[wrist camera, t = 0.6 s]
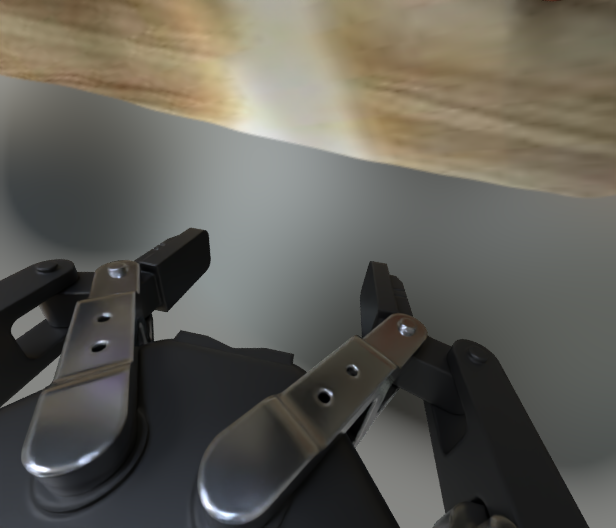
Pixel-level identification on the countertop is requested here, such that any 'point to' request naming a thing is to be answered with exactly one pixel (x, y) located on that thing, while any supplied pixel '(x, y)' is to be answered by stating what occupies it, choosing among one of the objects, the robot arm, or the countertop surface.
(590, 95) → the countertop surface
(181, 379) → the robot arm
